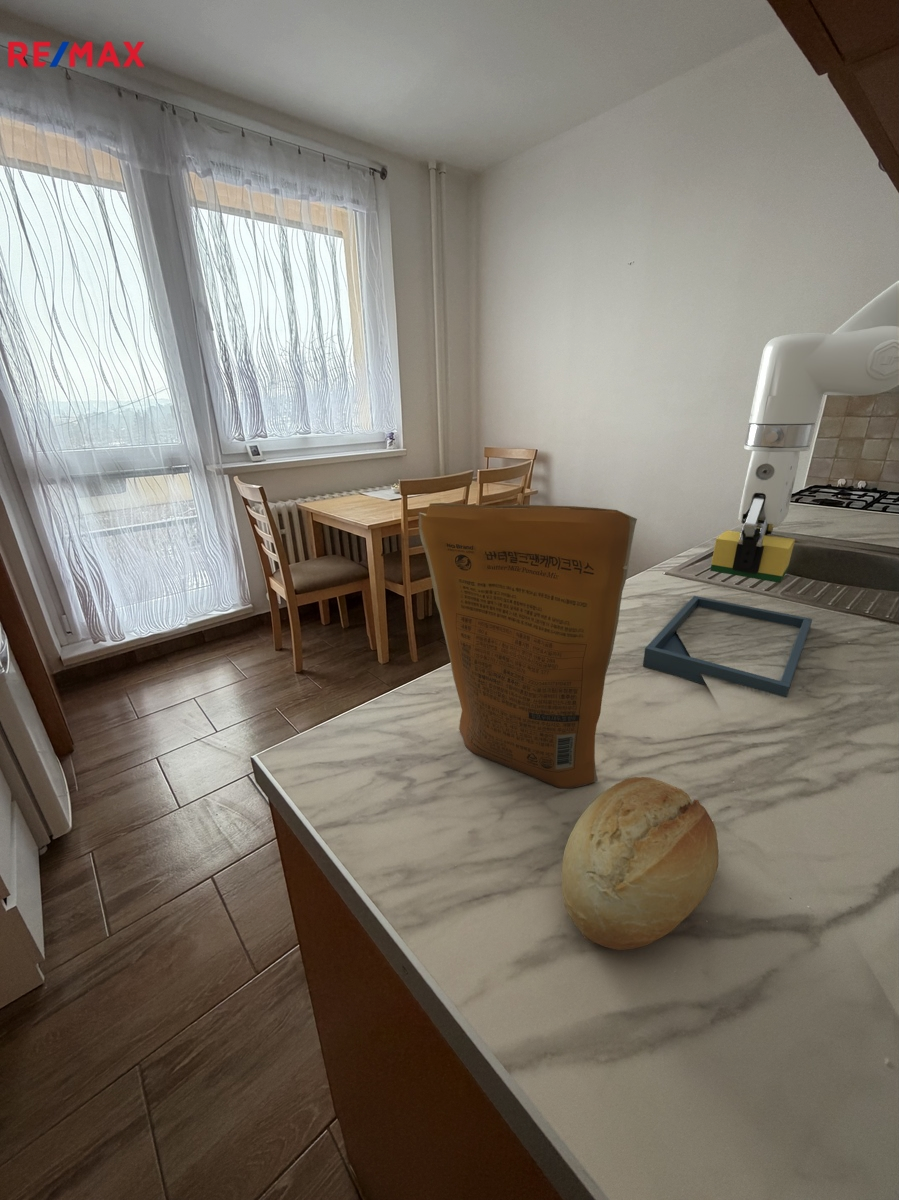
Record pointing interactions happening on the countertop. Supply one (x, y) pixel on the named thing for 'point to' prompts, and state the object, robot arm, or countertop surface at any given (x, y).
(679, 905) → the bread roll
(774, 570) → the sponge
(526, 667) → the pancake mix bag
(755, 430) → the robot arm
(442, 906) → the countertop surface
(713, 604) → the tray
